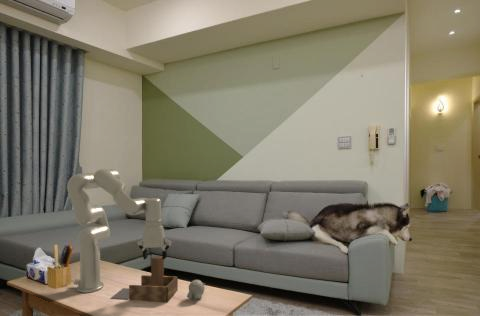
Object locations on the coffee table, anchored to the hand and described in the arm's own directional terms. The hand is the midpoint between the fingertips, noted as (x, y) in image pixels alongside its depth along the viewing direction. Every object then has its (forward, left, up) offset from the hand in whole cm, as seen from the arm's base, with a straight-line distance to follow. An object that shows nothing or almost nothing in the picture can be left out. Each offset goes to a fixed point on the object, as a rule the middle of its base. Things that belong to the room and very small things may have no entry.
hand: (154, 258), depth 157 cm
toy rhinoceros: (+21, 0, -18) cm, 28 cm away
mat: (-16, 0, -18) cm, 24 cm away
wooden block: (-1, 0, -18) cm, 18 cm away
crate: (-1, 0, -18) cm, 18 cm away
